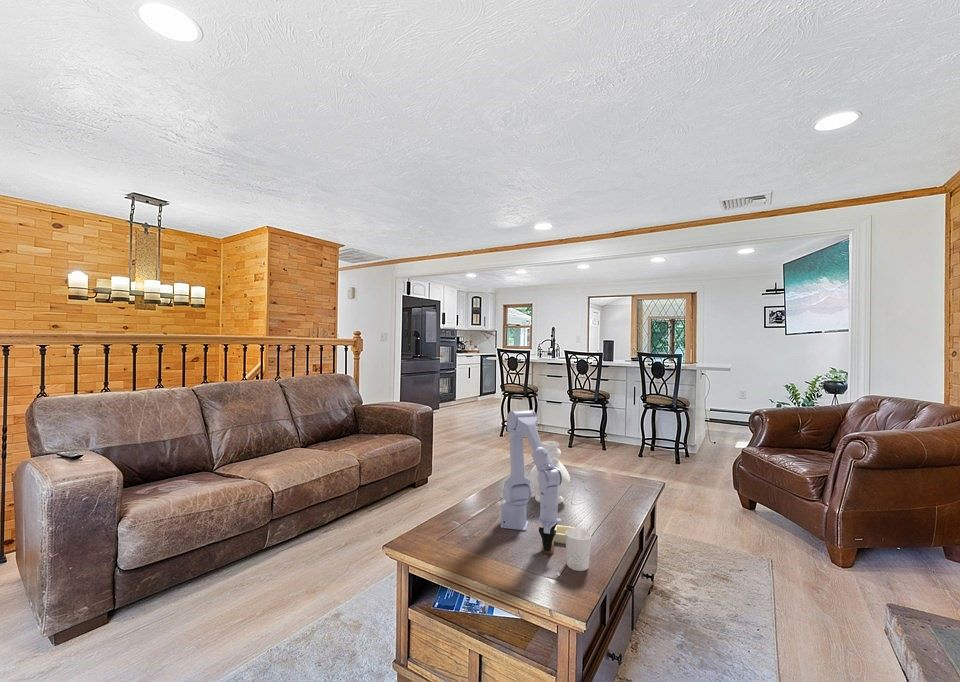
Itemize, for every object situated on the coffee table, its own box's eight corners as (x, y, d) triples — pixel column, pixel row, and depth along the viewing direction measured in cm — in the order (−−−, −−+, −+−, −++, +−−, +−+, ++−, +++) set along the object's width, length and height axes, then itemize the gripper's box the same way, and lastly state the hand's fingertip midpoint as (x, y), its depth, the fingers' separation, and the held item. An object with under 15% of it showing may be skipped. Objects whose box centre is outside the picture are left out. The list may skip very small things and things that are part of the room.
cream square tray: (552, 542, 150) (553, 533, 150) (554, 532, 157) (554, 524, 157) (574, 544, 148) (575, 536, 148) (575, 535, 155) (575, 527, 155)
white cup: (586, 559, 139) (587, 528, 139) (593, 572, 131) (594, 539, 131) (562, 559, 138) (563, 528, 138) (568, 572, 130) (568, 539, 130)
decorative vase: (573, 507, 181) (574, 448, 181) (530, 506, 182) (532, 447, 182) (565, 492, 199) (566, 438, 199) (527, 491, 200) (528, 437, 199)
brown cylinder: (541, 553, 142) (541, 532, 142) (542, 548, 145) (542, 527, 145) (553, 555, 141) (554, 534, 141) (554, 549, 145) (554, 528, 145)
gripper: (560, 515, 135) (559, 558, 135) (562, 498, 149) (561, 537, 149) (537, 512, 137) (536, 555, 137) (541, 496, 151) (540, 535, 151)
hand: (547, 545), depth 143 cm, fingers open, 5 cm apart
